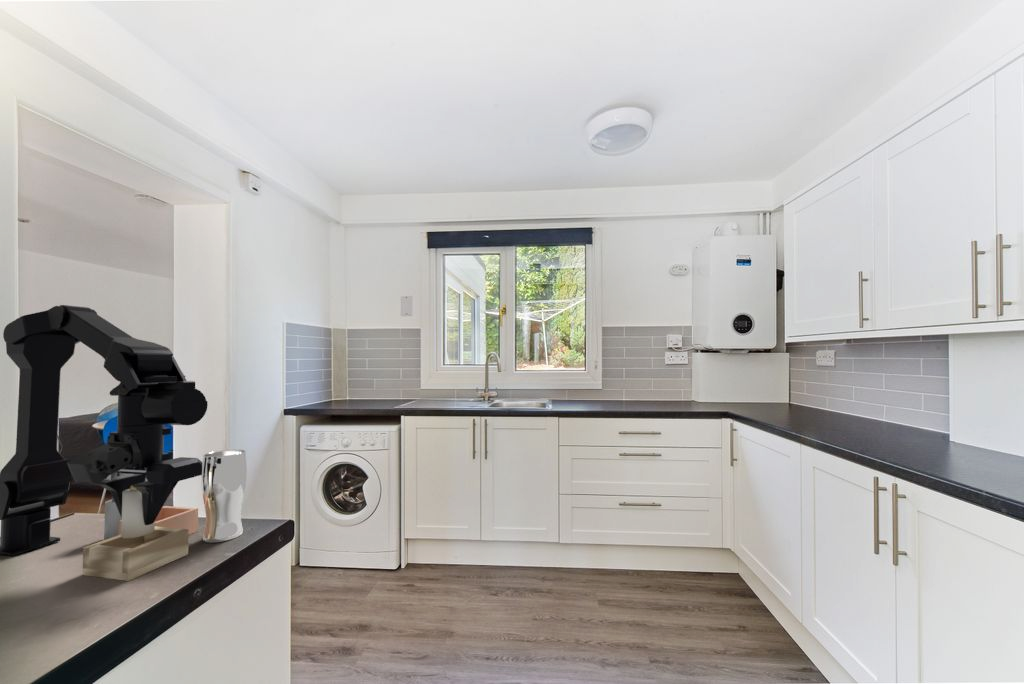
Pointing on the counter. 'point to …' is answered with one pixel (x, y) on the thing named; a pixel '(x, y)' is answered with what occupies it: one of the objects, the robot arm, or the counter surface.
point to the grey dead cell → (111, 519)
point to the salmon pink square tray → (175, 518)
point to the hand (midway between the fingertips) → (138, 523)
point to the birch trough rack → (134, 553)
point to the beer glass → (223, 493)
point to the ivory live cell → (133, 515)
